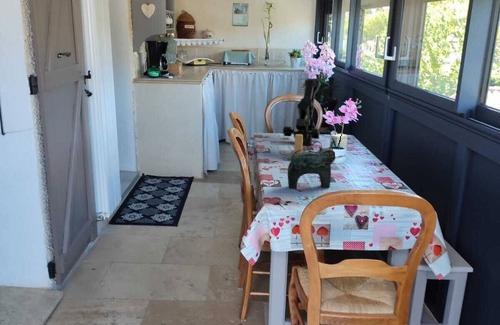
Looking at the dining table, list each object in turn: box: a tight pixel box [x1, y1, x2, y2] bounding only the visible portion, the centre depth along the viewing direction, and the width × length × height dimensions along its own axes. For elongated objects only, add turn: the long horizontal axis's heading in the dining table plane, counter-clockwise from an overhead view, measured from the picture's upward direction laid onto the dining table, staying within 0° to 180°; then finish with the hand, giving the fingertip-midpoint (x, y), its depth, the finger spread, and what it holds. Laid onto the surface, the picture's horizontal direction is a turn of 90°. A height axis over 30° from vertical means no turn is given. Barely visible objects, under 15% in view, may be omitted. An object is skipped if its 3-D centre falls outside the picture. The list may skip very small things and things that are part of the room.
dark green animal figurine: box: [287, 140, 336, 190], centre depth 188 cm, size 20×6×20 cm, turn 99°
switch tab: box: [293, 134, 303, 155], centre depth 231 cm, size 2×4×11 cm, turn 75°
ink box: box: [329, 133, 349, 150], centre depth 240 cm, size 9×5×12 cm, turn 129°
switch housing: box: [286, 147, 308, 162], centre depth 236 cm, size 16×10×3 cm, turn 165°
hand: (298, 146), depth 232 cm, fingers closed
